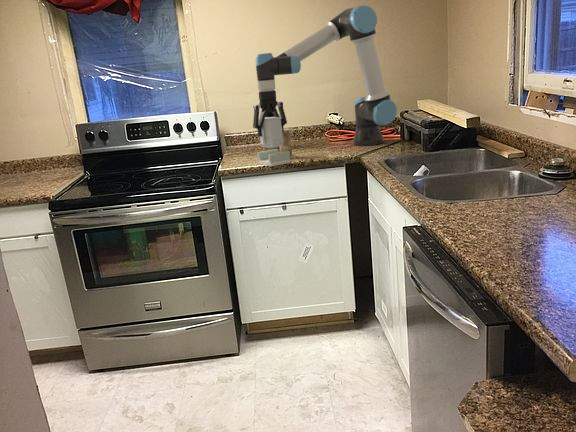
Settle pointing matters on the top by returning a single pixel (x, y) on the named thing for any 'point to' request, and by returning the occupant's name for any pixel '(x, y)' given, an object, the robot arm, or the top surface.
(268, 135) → the supplement box
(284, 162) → the green and white block
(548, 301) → the top surface
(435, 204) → the top surface
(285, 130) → the spool
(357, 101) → the robot arm
